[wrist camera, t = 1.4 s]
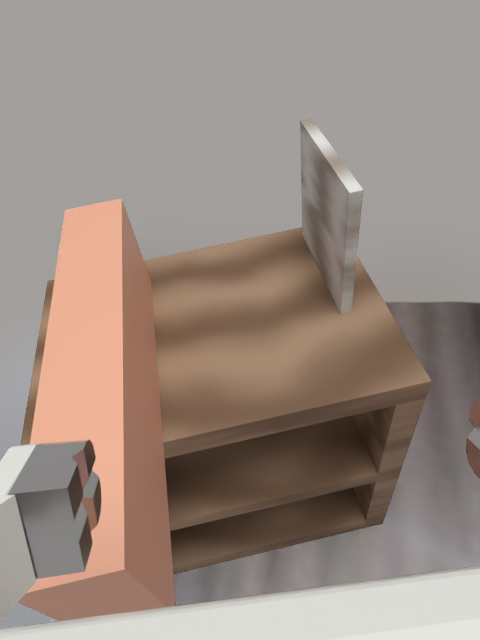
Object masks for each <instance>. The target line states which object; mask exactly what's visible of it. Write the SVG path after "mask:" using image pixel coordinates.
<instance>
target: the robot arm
mask: <svg viewBox="0 0 480 640" xmlns="http://www.w3.org/2000/svg"><path fill="white" fill-rule="evenodd" d="M469 420H470V421H471V423H472V424H473V426H474V427H475V428H474V429H473V431H472V432H471V433H470V434H469V436H468V437H467V445H466V453H467V457H468V461H469V464H470V466H471V468H472V470H473V471H474V473H475V474H476V475H477V476H478V477H479V478H480V401H477V402H474V404H473V406H472V407H471V411H470V418H469ZM95 459H96V456H95V452H94V447H93V443H92V442H91V441H90V439H89V440H77V441H64V442H52V443H41V444H38V443H36V444H27V445H19V446H14V447H11V448H9V450H8V451H7V452H6V454H5V455H4V457H3V458H2V460H1V461H0V621H1V620H2V619H3V618H4V617H5V616H6V614H7V613H8V612H9V611H10V610H11V609H12V608H13V607H14V606H15V604H17V602H18V601H19V600H20V599H21V598H22V597H23V596H24V595H25V594H26V593H27V592H28V590H29V589H30V588H31V587H32V586H33V585H34V584H35V583H36V579H40V578H47V577H54V576H60V575H67V574H73V573H80V572H85V569H86V565H87V562H88V558H89V555H90V551H91V548H92V544H93V541H92V536H91V531H92V530H93V529H94V528H95V527H96V526H97V525H98V522H99V518H100V513H101V501H102V497H101V485H100V479H99V476H98V475H97V474H96V473H94V472H93V471H92V468H93V465H94V462H95ZM0 640H480V566H475V567H467V568H460V569H452V570H444V571H437V572H429V573H422V574H414V575H407V576H399V577H391V578H384V579H376V580H368V581H361V582H353V583H346V584H338V585H330V586H323V587H315V588H307V589H300V590H292V591H284V592H277V593H269V594H262V595H254V596H246V597H239V598H231V599H223V600H216V601H208V602H200V603H193V604H185V605H178V606H170V607H162V608H155V609H147V610H139V611H132V612H124V613H117V614H109V615H101V616H94V617H86V618H78V619H71V620H63V621H55V622H48V623H40V624H33V625H25V626H18V627H10V628H2V629H0Z"/></svg>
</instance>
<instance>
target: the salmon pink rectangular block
mask: <svg viewBox="0 0 480 640" xmlns="http://www.w3.org/2000/svg"><path fill="white" fill-rule="evenodd" d="M89 439H90V441H91V442H92V443H93V447H94V452H95V456H96V459H95V462H94V465H93V468H92V471H93V472H94V473H96V474H97V475H98V476H99V479H100V485H101V497H102V501H101V513H100V518H99V522H98V525H97V526H96V527H95V528H94V529H93V530H92V531H91V536H92V541H93V544H92V548H91V551H90V555H89V558H88V562H87V565H86V569H85V572H80V573H73V574H67V575H60V576H54V577H47V578H40V579H36V583H35V584H34V585H33V586H32V587H31V588H30V589H29V590H28V592H27V593H26V594H25V595H24V596H23V597H22V598H21V599H20V600H19V601H18V603H20V604H22V605H25V606H27V607H29V608H31V609H33V610H36V611H38V612H40V613H43V614H45V615H47V616H49V617H52V618H54V619H56V620H58V621H63V620H71V619H78V618H86V617H94V616H101V615H109V614H117V613H124V612H132V611H139V610H147V609H155V608H162V607H170V606H176V604H175V591H174V578H173V564H172V551H171V538H170V525H169V511H168V498H167V485H166V472H165V458H164V445H163V432H162V419H161V405H160V392H159V379H158V366H157V352H156V339H155V326H154V313H153V299H152V286H151V280H150V277H149V274H148V272H147V269H146V266H145V263H144V260H143V257H142V255H141V252H140V249H139V246H138V243H137V241H136V238H135V235H134V232H133V229H132V226H131V224H130V221H129V218H128V215H127V212H126V209H125V207H124V204H123V201H122V199H117V200H112V201H107V202H102V203H97V204H92V205H87V206H82V207H78V208H73V209H68V210H65V215H64V221H63V228H62V235H61V241H60V248H59V254H58V261H57V268H56V274H55V281H54V287H53V294H52V301H51V307H50V314H49V321H48V327H47V334H46V340H45V347H44V354H43V360H42V367H41V373H40V380H39V387H38V393H37V400H36V406H35V413H34V420H33V426H32V433H31V440H30V444H36V443H38V444H41V443H52V442H64V441H77V440H89Z"/></svg>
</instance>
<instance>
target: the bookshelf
mask: <svg viewBox="0 0 480 640" xmlns="http://www.w3.org/2000/svg"><path fill="white" fill-rule="evenodd" d="M300 123H301V179H302V180H301V184H302V228H297V229H292V230H287V231H283V232H278V233H273V234H269V235H264V236H259V237H254V238H250V239H245V240H240V241H235V242H231V243H226V244H221V245H217V246H212V247H207V248H202V249H197V250H193V251H188V252H183V253H178V254H174V255H169V256H165V257H159V258H155V259H150V260H145V261H144V263H145V266H146V269H147V272H148V274H149V277H150V280H151V286H152V299H153V313H154V326H155V339H156V352H157V366H158V379H159V392H160V405H161V419H162V432H163V445H164V458H165V472H166V485H167V498H168V511H169V525H170V538H171V551H172V564H173V574H175V573H179V572H183V571H187V570H191V569H195V568H200V567H204V566H208V565H212V564H216V563H220V562H224V561H229V560H233V559H237V558H241V557H245V556H249V555H253V554H258V553H262V552H266V551H270V550H274V549H278V548H282V547H286V546H291V545H295V544H299V543H303V542H307V541H311V540H315V539H320V538H324V537H328V536H332V535H336V534H340V533H344V532H349V531H353V530H357V529H361V528H365V527H369V526H373V525H378V524H382V523H383V520H384V517H385V514H386V512H387V509H388V506H389V503H390V500H391V497H392V494H393V491H394V488H395V485H396V483H397V480H398V477H399V474H400V471H401V468H402V465H403V462H404V459H405V456H406V454H407V451H408V448H409V445H410V442H411V439H412V436H413V433H414V430H415V427H416V425H417V422H418V419H419V416H420V413H421V410H422V407H423V404H424V401H425V398H426V396H427V393H428V390H429V387H430V384H431V379H430V378H429V376H428V374H427V373H426V371H425V369H424V368H423V366H422V364H421V363H420V361H419V359H418V358H417V356H416V354H415V353H414V351H413V349H412V347H411V346H410V344H409V342H408V341H407V339H406V337H405V336H404V334H403V332H402V331H401V329H400V327H399V326H398V324H397V322H396V321H395V319H394V317H393V315H392V314H391V312H390V310H389V309H388V307H387V305H386V304H385V302H384V300H383V299H382V297H381V295H380V294H379V292H378V290H377V289H376V287H375V285H374V284H373V282H372V280H371V278H370V277H369V275H368V273H367V272H366V270H365V268H364V267H363V265H362V263H361V262H360V260H359V258H358V257H357V248H358V238H359V229H360V217H361V208H362V198H363V197H362V196H363V189H362V188H361V186H360V185H359V184H358V182H357V181H356V179H355V178H354V177H353V175H352V174H351V173H350V171H349V170H348V168H347V167H346V166H345V164H344V163H343V162H342V160H341V159H340V158H339V156H338V155H337V153H336V152H335V151H334V149H333V148H332V146H331V145H330V144H329V142H328V141H327V140H326V138H325V137H324V135H323V134H322V133H321V131H320V130H319V129H318V127H317V126H316V125H315V123H314V122H313V120H312V119H308V120H302V121H300ZM54 281H55V280H50V281H48V283H47V289H46V295H45V301H44V307H43V313H42V319H41V325H40V331H39V337H38V343H37V349H36V355H35V361H34V367H33V373H32V379H31V385H30V391H29V396H28V402H27V408H26V414H25V420H24V427H23V433H22V438H21V444H20V445H27V444H30V440H31V433H32V426H33V420H34V413H35V406H36V400H37V393H38V387H39V380H40V373H41V367H42V360H43V354H44V347H45V340H46V334H47V327H48V321H49V314H50V307H51V301H52V294H53V287H54Z"/></svg>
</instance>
